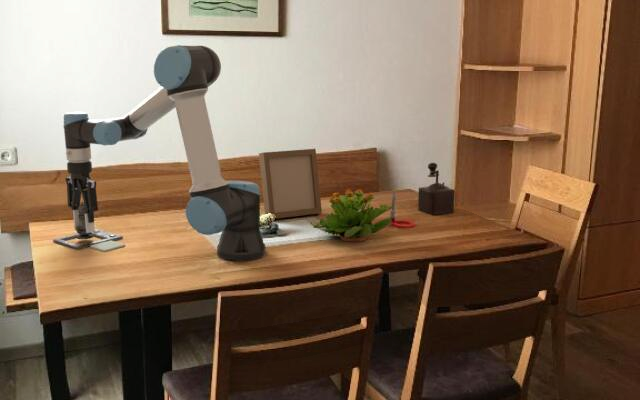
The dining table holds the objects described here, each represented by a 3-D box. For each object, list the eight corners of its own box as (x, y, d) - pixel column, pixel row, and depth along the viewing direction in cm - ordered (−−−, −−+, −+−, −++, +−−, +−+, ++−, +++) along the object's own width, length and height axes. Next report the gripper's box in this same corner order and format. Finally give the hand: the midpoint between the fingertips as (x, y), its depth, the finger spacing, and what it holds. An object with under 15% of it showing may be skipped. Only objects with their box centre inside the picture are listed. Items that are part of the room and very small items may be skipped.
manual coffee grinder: (455, 213, 274) (458, 167, 270) (433, 216, 269) (435, 169, 265) (431, 204, 288) (434, 161, 284) (409, 207, 283) (411, 163, 279)
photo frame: (321, 215, 268) (322, 150, 262) (270, 221, 258) (270, 154, 252) (303, 207, 281) (304, 145, 275) (253, 213, 270) (253, 149, 265)
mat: (125, 246, 226) (125, 244, 226) (104, 251, 220) (104, 250, 220) (110, 241, 230) (110, 240, 230) (89, 247, 224) (89, 245, 224)
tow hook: (416, 224, 258) (392, 221, 261) (420, 190, 255) (395, 187, 258) (412, 230, 250) (386, 226, 253) (415, 195, 247) (389, 192, 250)
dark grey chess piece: (88, 240, 227) (85, 204, 224) (72, 239, 228) (69, 203, 226) (97, 235, 233) (95, 200, 230) (81, 234, 234) (78, 199, 231)
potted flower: (346, 224, 255) (347, 177, 251) (404, 235, 242) (406, 186, 238) (306, 240, 235) (306, 189, 231) (366, 253, 222) (367, 199, 218)
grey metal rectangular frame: (122, 238, 235) (122, 235, 234) (78, 249, 221) (77, 246, 221) (97, 231, 243) (97, 228, 243) (53, 241, 230) (53, 238, 230)
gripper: (52, 159, 228) (58, 228, 233) (86, 165, 216) (91, 237, 221) (72, 156, 233) (77, 223, 239) (106, 162, 222) (111, 232, 227)
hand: (84, 230), depth 230 cm, fingers closed on dark grey chess piece, 6 cm apart
